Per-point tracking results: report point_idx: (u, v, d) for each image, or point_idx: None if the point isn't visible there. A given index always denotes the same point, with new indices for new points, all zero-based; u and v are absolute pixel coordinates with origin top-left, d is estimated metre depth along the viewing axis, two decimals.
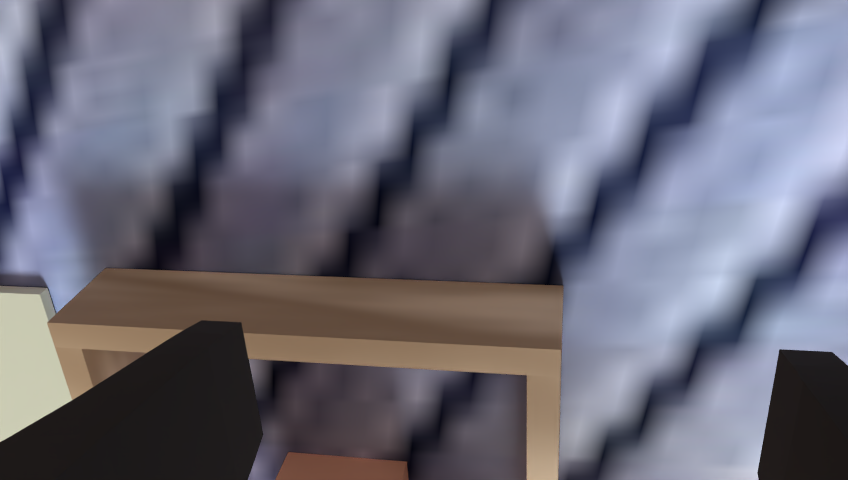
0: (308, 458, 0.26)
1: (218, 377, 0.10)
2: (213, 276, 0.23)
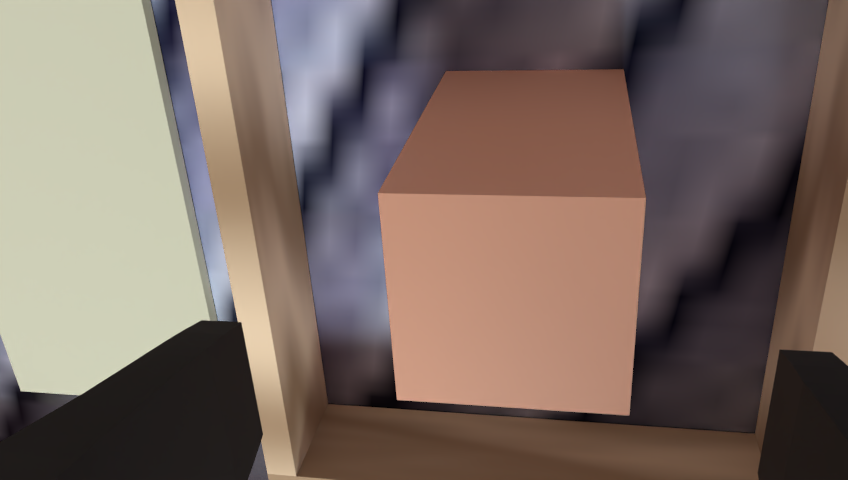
0: (477, 73, 0.18)
1: (218, 377, 0.10)
2: None
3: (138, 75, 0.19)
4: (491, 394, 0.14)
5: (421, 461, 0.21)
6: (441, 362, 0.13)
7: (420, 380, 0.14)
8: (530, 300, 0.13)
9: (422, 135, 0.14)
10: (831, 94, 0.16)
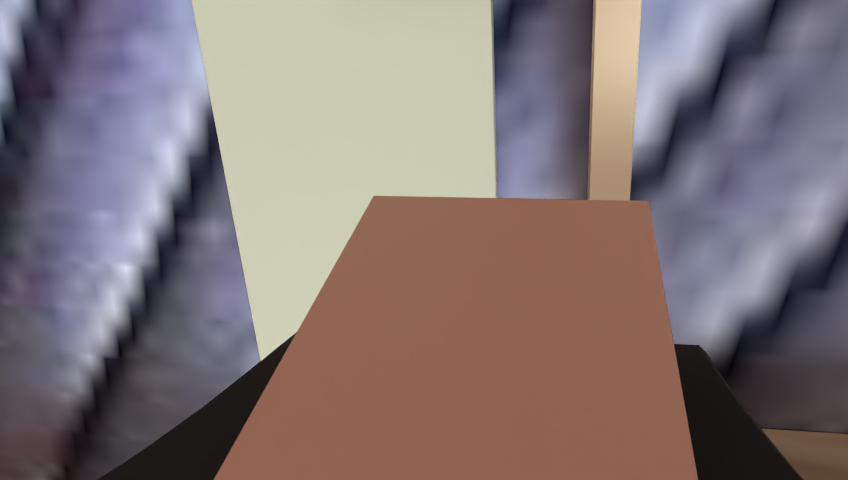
0: (421, 203, 0.12)
1: None
2: None
3: (470, 72, 0.18)
4: None
5: None
6: None
7: None
8: None
9: (297, 371, 0.08)
10: None
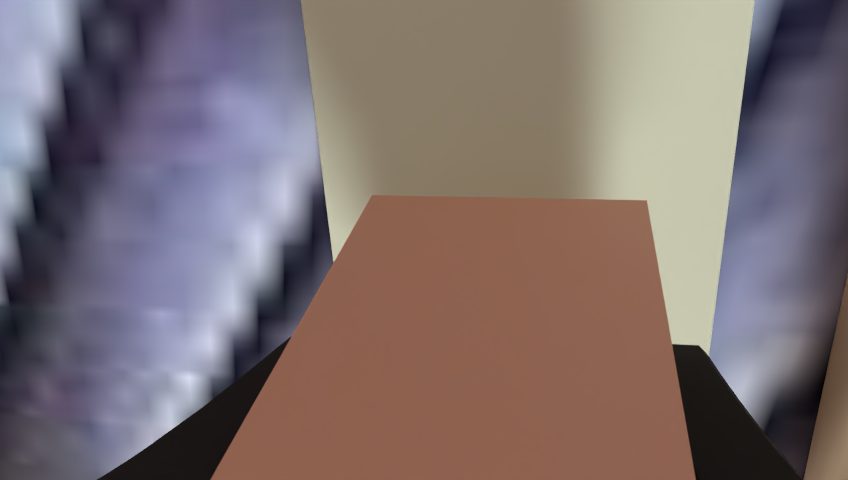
0: (419, 202, 0.12)
1: None
2: None
3: (702, 148, 0.13)
4: None
5: None
6: None
7: None
8: None
9: (294, 370, 0.08)
10: None
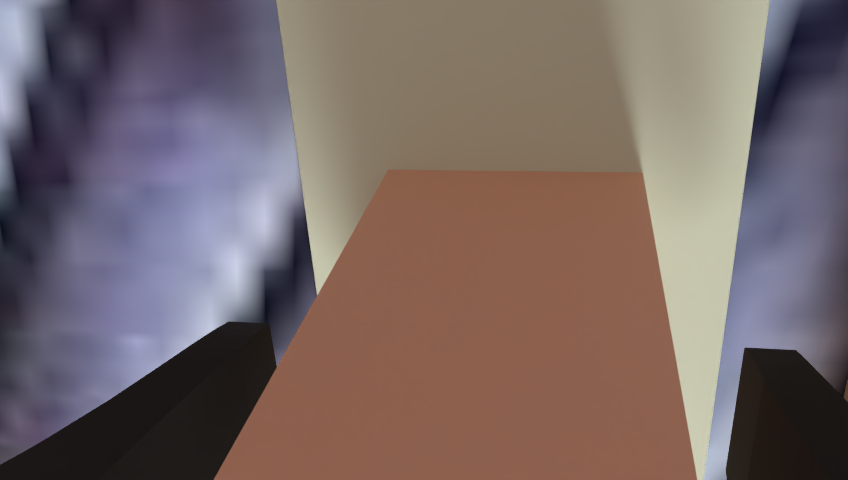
0: (432, 175, 0.12)
1: (247, 379, 0.10)
2: None
3: (709, 171, 0.12)
4: None
5: None
6: None
7: None
8: None
9: (325, 316, 0.09)
10: None
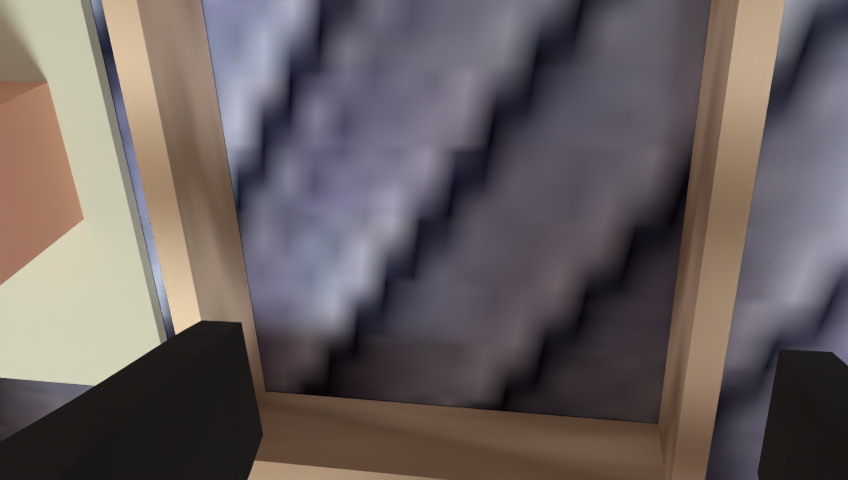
0: None
1: (218, 377, 0.10)
2: None
3: (81, 81, 0.21)
4: None
5: (346, 445, 0.23)
6: None
7: None
8: None
9: None
10: (706, 113, 0.17)
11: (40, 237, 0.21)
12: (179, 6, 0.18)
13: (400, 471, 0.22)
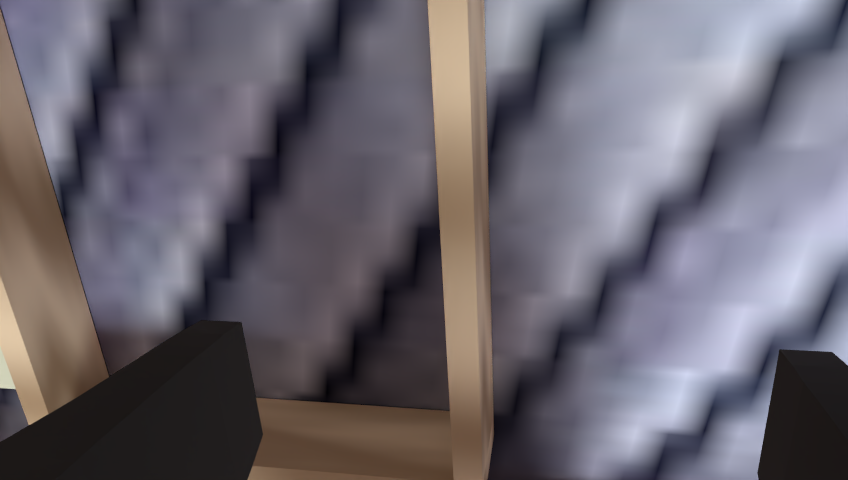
0: None
1: (218, 377, 0.10)
2: None
3: None
4: None
5: None
6: None
7: None
8: None
9: None
10: None
11: None
12: None
13: None
